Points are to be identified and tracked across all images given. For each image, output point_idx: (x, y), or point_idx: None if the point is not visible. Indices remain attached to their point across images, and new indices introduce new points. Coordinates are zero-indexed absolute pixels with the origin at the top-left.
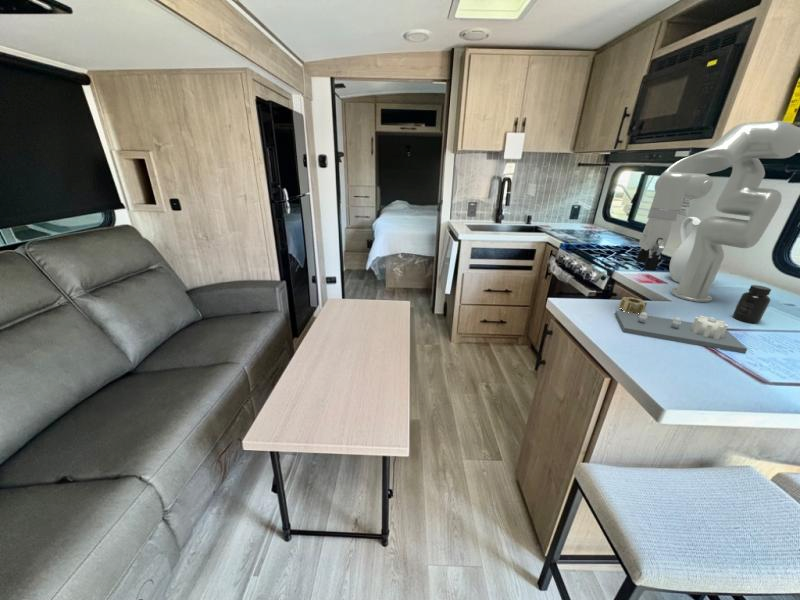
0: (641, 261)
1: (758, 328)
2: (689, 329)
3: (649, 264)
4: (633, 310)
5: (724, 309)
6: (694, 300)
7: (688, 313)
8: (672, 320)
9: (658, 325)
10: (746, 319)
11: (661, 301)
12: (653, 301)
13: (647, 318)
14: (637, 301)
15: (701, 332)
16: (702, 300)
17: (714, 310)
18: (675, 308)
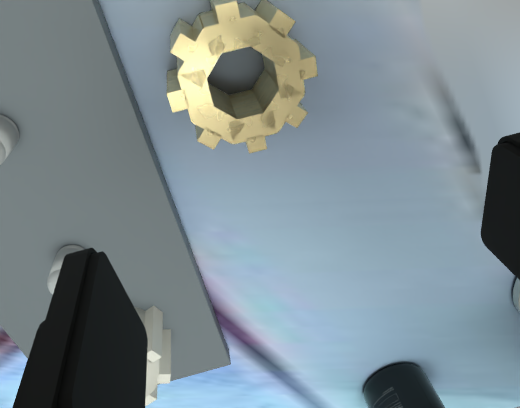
0: (496, 193)
1: (330, 402)
2: None
3: (30, 359)
4: (167, 82)
5: (465, 345)
6: (516, 285)
7: (361, 272)
8: (168, 244)
9: (34, 202)
10: (367, 392)
11: (472, 187)
12: (458, 158)
13: (98, 154)
14: (266, 102)
15: None
16: (517, 305)
17: (441, 327)
18: (400, 235)
